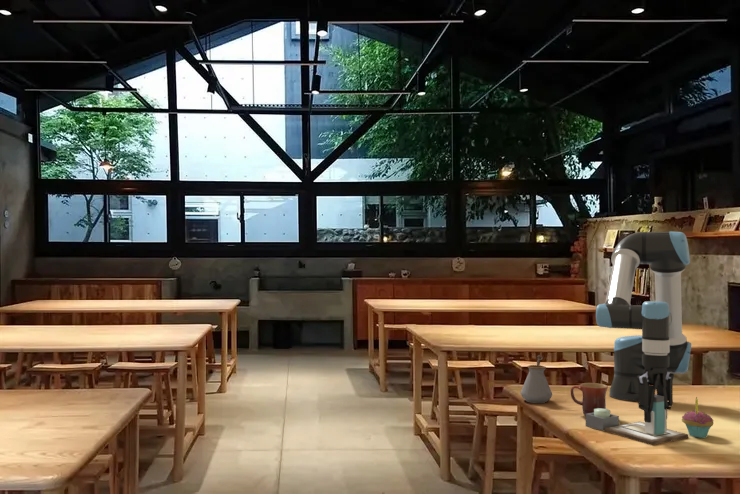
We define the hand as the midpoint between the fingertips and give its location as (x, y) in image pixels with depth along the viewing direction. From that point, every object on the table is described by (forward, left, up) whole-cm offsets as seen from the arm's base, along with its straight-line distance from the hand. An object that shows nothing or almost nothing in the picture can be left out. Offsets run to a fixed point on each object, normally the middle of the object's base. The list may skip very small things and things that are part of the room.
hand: (655, 431), depth 194 cm
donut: (-13, +4, -2) cm, 14 cm away
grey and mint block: (0, 0, 0) cm, 0 cm away
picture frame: (0, -4, -2) cm, 4 cm away
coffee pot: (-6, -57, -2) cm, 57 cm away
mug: (-3, -29, -2) cm, 29 cm away
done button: (+5, -16, 0) cm, 17 cm away
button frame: (+5, -16, -2) cm, 17 cm away
